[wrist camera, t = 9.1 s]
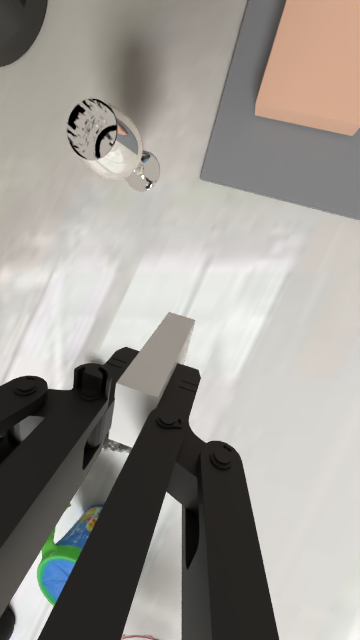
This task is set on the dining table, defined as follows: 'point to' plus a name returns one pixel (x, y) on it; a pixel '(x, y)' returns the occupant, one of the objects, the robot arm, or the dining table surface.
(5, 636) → the coffee jar
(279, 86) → the peach rectangular block
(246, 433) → the dining table surface
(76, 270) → the dining table surface
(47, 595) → the snack cup
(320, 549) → the dining table surface
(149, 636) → the pink flower
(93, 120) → the wineglass
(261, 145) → the mat
